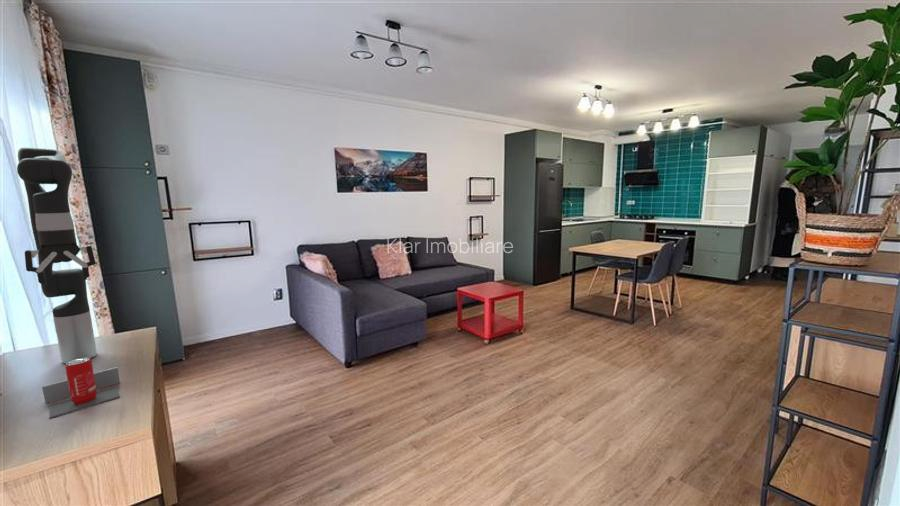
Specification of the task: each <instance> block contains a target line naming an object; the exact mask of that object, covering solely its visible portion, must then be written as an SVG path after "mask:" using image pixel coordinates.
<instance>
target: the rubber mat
mask: <svg viewBox="0 0 900 506" xmlns="http://www.w3.org/2000/svg"><path fill="white" fill-rule="evenodd" d="M118 389H119V388H118V386H117V385H114V386H112V387H111V386H110V387H107V388H103V389H99V390H97V395H96V398H95V399H94V400H92V401H90V402H88V403H84V404H79V405H76V404H74V402H72V400H71V398H69V399H65V400H61V401H58V402H55V403H51V404H49V415H48V416H49V419H53V418H58V417H60V416H63V414H64V415H66V413H67V414H70V413H74V412H77V411H80V410H83V408H84V409H87V408H90V407H93V406H97V405H100V404H103V403H107V402H110V401H113V400H116V398H117V399H119V397H121V396H120V393H119V390H118ZM99 403H100V404H99ZM89 406H90V407H89ZM73 411H74V412H73Z"/></svg>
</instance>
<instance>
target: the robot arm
mask: <svg viewBox="0 0 900 506" xmlns="http://www.w3.org/2000/svg"><path fill="white" fill-rule="evenodd" d="M17 161H18V163H17V167H16V171H17V174H18V177H19V178H20V179H21V180H23V184H24V188H25V192H26V197H27V202H28V203H27V204H28V210H29V217H30V225H31V229H32V235H33V238H34V243H35V247H36V250H33V249H31V250H30V249H26V250H24V260H25V270H26V271H27V272H32V273H36V275H37V281H38V284H40V287H41V290H42V293H43V295H44V296H45V297H46V298H48V299H49V298H58V297H67V296H72V295H74V297H73V298H72V299H70V300H68V301H67V302H64V303H62V304H59V305H57V306H55V307H54V308H52V317H53V322H54V327H55V333H56V337H57V344H58V349H59V354H60V360H61V363H62V364H66V363H68V362H69V361H72V360H75V359H79V358H90V359H92V357H93V358H94V357H96V356H97V355H98V351H97V345H96V339H95V334H94V327H93V322H92V321H93V320H92V315H91V311H90V310H91V309H90V304H89V300H88V293H87V291H88V289H87V283H86V281H87V279H89V277H90V271H89V268H90V267H91V266H93V265H96V259H95V255H94V251H93V247H92V246H91V245H85V246H78V243H77V237H76V231H75V224H74V220H73V217H72V213H71V209H70V203H69V201H70V200H69V189H70V185H71V181H72V177H73V170H72V167H71V165H69V163H68V162H67V158H66V156H65V154H64V153H63V152H62V151H60V150H58V149H51V148H34V147H20V148H19V149H18V150H17ZM42 185H56V187H55V189H53V190H50V191H46V190H45V188H43V186H42ZM81 251H82V252H83V254H87V257H88V260H89V261H87V262H85V261H84V260H82V258H80V257H78V256H77V255H78V254H79V253H80V252H81ZM36 256H37V259H38V266H37V267H36V266H34V265H33V259H34V258H36ZM72 261H74V262H75V263H76V264H77V265H80V266H81V268H69V269H68V268H67V269H59V270H58V269H57V270H53V267H54V264H59V263H69V262H72Z"/></svg>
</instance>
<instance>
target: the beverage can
mask: <svg viewBox="0 0 900 506" xmlns="http://www.w3.org/2000/svg"><path fill="white" fill-rule="evenodd" d="M92 362H93V361H92V360H91V358H79V359H75V360H72V361H69V362H68V363H65V372H66V373H65V374H66V378H67V379H66V380H68V384H69V390H70V395H71V396H70V399H71V400H72V402H74V404H76V405H79V404H84V403H88V402H90V401H92V400H94V399H95V398H96V395H97V391H98V389H96V385H95V379H94V373H95V372H94V369H93V368H94V367H93V363H92Z"/></svg>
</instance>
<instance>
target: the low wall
mask: <svg viewBox="0 0 900 506" xmlns="http://www.w3.org/2000/svg"><path fill="white" fill-rule="evenodd" d="M93 373H94V379H95V385H96V390H98V388H99V389H102V388H105V387H109V386H112V385H115V384H119V383H121V381H120V374H119V370H118V366H116V367H111V368H106V369H104V370H100V371H96V372H93ZM41 388H42V394H43V399H44V403H45V404H48V402H49V403H51V401H52V402H55V400H56V401H59V400H63V399H67V398H70V397H71V395H70V390H69V384H68V379H64V380H60V381H57V382H53V383H49V384H48V383H47V384H44V385H42V386H41ZM69 396H70V397H69ZM66 397H67V398H66Z"/></svg>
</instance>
